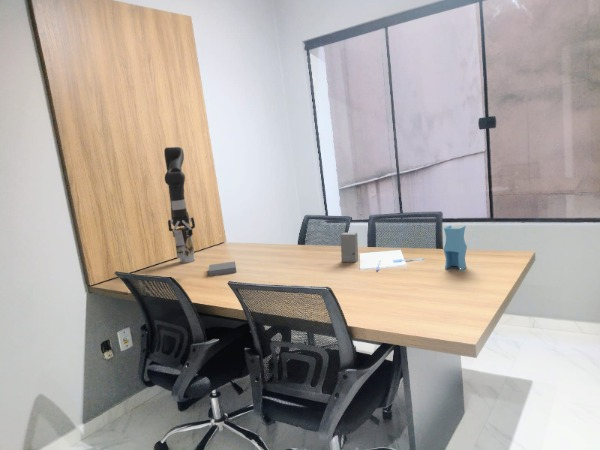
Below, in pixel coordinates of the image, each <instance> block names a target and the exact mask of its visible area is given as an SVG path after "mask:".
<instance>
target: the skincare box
mask: <svg viewBox="0 0 600 450" xmlns="http://www.w3.org/2000/svg"><path fill="white" fill-rule="evenodd" d="M358 241H359V239H358V232H342V233H340V248H341V249H340V251H341V252H340V253H341V255H340V256H341V262H342V263H357V261H358V260H359V247H358V246H359V243H358Z"/></svg>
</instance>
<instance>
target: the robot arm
mask: <svg viewBox="0 0 600 450" xmlns="http://www.w3.org/2000/svg"><path fill="white" fill-rule="evenodd" d="M184 153H185V152H184V149H183V148H182V147H179V146H175V147H174V146H171V147H168V146H167V147H165V148H164V160H165V167H166V173H165V174H164V182H165V184H167V187H168V195H169V201H170V216H171V219H168V220H167V226H168V231H169V232H172V236H173V238H175V237H174V230H176V229H178V228H182V227H188V228H189V229H190V230H189V231H190V236H192V237H193V234H194V233H193V229H195V228H196V225H195V223H196V222H195V218H194V216H191V217H190V215H189V212H188V210H187V204H186V199H185V181H186V176H185V173H184V172H182V167H183V163H184V158H185V156H184V155H185V154H184ZM190 222H191V224H192V225H191V224H190ZM172 225H173V228H172ZM194 261H195V254H194V255H192V256H190V257H188V258H179V262H180V264H185V263H192V262H194Z"/></svg>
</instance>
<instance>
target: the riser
mask: <svg viewBox="0 0 600 450" xmlns="http://www.w3.org/2000/svg"><path fill="white" fill-rule="evenodd" d="M235 273H237V266H236V261H234V260H233V261H229V262H221V263H220V262H219V263H214V264H209V266H208V275H209V277H215V276H220V275H221V276H222V275H228V274H235Z"/></svg>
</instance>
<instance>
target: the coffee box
mask: <svg viewBox="0 0 600 450" xmlns="http://www.w3.org/2000/svg"><path fill="white" fill-rule="evenodd" d="M189 230H190V229H189V228H188V227H184V226H181V227H177V228H176V230H174V237H173V238H174V243H175V244H174V245H175V250H176V257H177V259H180V258H188V257H190V256H192V255H194V256H195V249H194V248H195V247H194V241H193V235H192V236H190V231H189Z"/></svg>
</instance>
